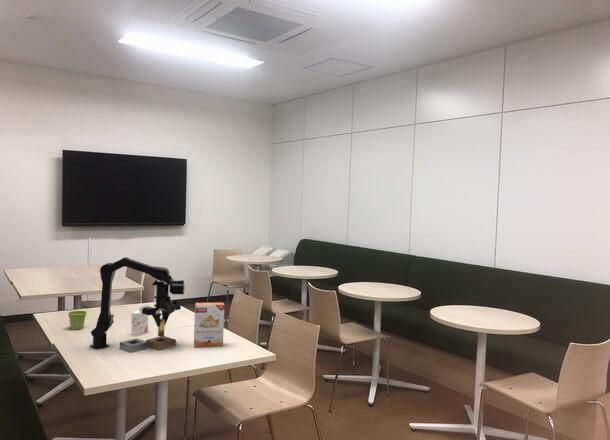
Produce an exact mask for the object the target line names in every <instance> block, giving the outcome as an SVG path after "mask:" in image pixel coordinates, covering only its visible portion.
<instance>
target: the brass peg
mask: <svg viewBox="0 0 610 440" xmlns="http://www.w3.org/2000/svg"><path fill="white" fill-rule="evenodd" d="M165 326H166V325H165V319H164V318H162V317H160V326H159V327H157V337H160V336H165V328H166V327H165Z"/></svg>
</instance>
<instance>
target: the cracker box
mask: <svg viewBox="0 0 610 440" xmlns="http://www.w3.org/2000/svg"><path fill="white" fill-rule="evenodd" d="M194 305H195V306H194V307H195V308H194V324H193V326H194V328H193V329H194V331H193V347H194V348H209V347H211V348H212V347H223V346H224V328H225V327H224V326H225V325H224V324H225V303H224V302H195V304H194Z"/></svg>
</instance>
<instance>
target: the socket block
mask: <svg viewBox="0 0 610 440" xmlns="http://www.w3.org/2000/svg"><path fill="white" fill-rule="evenodd" d="M148 348H149V347H148V342H146V340H144V339H140V338H137V337H136V338H133V339H132V338H131V339H127V340H124V341H120V342H119V349H120V350H122V351H124V352H128V353H131V354H132V353H134V352H138V351H143V350H146V349H148Z"/></svg>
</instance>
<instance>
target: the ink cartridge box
mask: <svg viewBox="0 0 610 440" xmlns="http://www.w3.org/2000/svg"><path fill="white" fill-rule="evenodd" d="M145 307H149V305H148V304H146V305H142V306H140V307H139V309H138V310H136V311H135V310H134V312H133V311H132V312H131V328H130V329H131V331H130V332H131V336H142V335H143V334H146V333H148V331H149V329H148V327H149V315H146V314H142V309H143V308H145ZM145 332H146V333H145ZM141 334H142V335H141Z"/></svg>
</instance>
